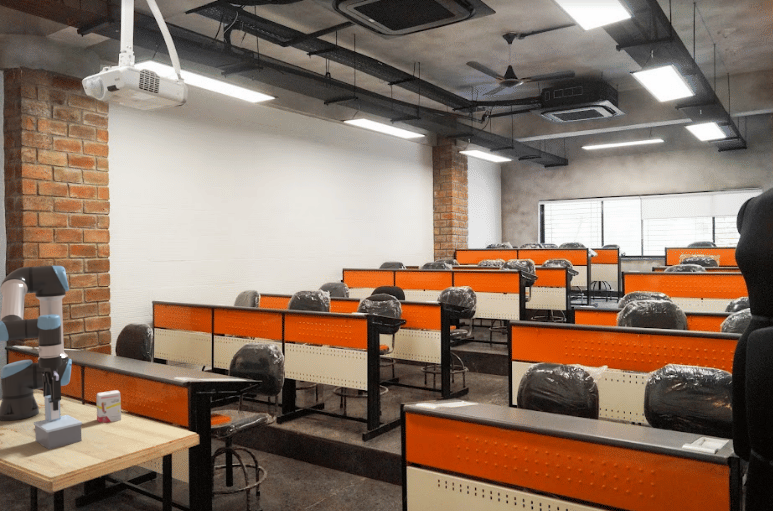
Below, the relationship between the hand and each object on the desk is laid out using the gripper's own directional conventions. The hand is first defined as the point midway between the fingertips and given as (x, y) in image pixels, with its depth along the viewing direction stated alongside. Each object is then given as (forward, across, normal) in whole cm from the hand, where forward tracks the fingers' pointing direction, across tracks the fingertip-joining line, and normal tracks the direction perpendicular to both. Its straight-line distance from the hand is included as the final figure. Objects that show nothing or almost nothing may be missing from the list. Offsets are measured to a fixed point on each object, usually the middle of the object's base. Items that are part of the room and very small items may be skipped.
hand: (52, 417), depth 215 cm
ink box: (+9, -7, +24) cm, 26 cm away
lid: (+3, +5, 0) cm, 6 cm away
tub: (+9, +5, 0) cm, 10 cm away
